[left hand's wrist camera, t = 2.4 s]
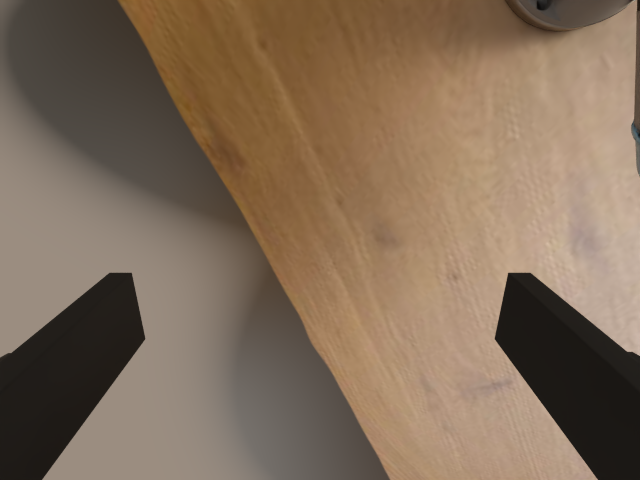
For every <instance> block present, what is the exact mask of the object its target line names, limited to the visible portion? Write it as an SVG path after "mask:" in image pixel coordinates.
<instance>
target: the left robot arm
mask: <svg viewBox="0 0 640 480" xmlns="http://www.w3.org/2000/svg"><path fill="white" fill-rule="evenodd" d="M634 1H635V0H506V2H507V3H508V5H509V6H510V7H511V9H512V10H513V11H514V12H515V13H516V14H517V15H518V16H519V17H520V18H522V19H523V20H525V21H526V22H528V23H529V24H531V25H534V26H536V27H539V28H542V29H546V30H553V31H566V30H573V29H577V28H581V27H585V26H588V25H592V24H595V23H598V22H601V21H603V20H605V19H608V18H610V17H612V16H613V15H615V14H617V13H619V12H620V11H622V10H623V9H624V8H626V7H627V6H629V5H630V4H631V3H632V2H634ZM631 131H632V135H633V138H634V139H635V141H636V162H637V171H638V174H639V176H640V0H637V33H636V76H635V112H634V121H633V123H632V125H631ZM144 340H145V335H144V330H143V326H142V321H141V316H140V311H139V306H138V301H137V296H136V292H135V287H134V282H133V277H132V273H109V274H108V275H106V276H105V277H104V278H103V279H102V280H100V281H99V282H98V283H97V284H95V285H94V286H93V287H92V288H91V289H89V290H88V291H87V292H86V293H84V294H83V295H82V296H81V297H80V298H78V299H77V300H76V301H75V302H73V303H72V304H71V305H70V306H68V307H67V308H66V309H65V310H64V311H62V312H61V313H60V314H59V315H57V316H56V317H55V318H54V319H53V320H51V321H50V322H49V323H48V324H46V325H45V326H44V327H43V328H42V329H40V330H39V331H38V332H37V333H35V334H34V335H33V336H32V337H30V338H29V339H28V340H27V341H26V342H24V343H23V344H22V345H21V346H19V347H18V348H17V349H16V350H15V351H13V352H12V353H8V354H6V355H4V356H2V357H0V480H42V479H43V478H44V476H45V475H46V474H47V472H48V471H49V469H50V468H51V467H52V465H53V464H54V463H55V461H56V460H57V459H58V457H59V456H60V454H61V453H62V452H63V450H64V449H65V448H66V446H67V445H68V444H69V442H70V441H71V439H72V438H73V437H74V435H75V434H76V433H77V431H78V430H79V429H80V427H81V426H82V425H83V423H84V422H85V420H86V419H87V418H88V416H89V415H90V414H91V412H92V411H93V410H94V408H95V407H96V405H97V404H98V403H99V401H100V400H101V399H102V397H103V396H104V395H105V393H106V392H107V390H108V389H109V388H110V386H111V385H112V384H113V382H114V381H115V380H116V378H117V377H118V375H119V374H120V373H121V371H122V370H123V369H124V367H125V366H126V365H127V363H128V362H129V361H130V359H131V358H132V356H133V355H134V354H135V352H136V351H137V350H138V348H139V347H140V346H141V344H142V343H143V341H144ZM495 340H496V341H497V343H498V344H499V346H500V347H501V348H502V350H503V351H504V352H505V354H506V355H507V356H508V358H509V359H510V361H511V362H512V363H513V365H514V366H515V367H516V369H517V370H518V371H519V373H520V374H521V376H522V377H523V378H524V380H525V381H526V382H527V384H528V385H529V386H530V388H531V389H532V390H533V392H534V393H535V395H536V396H537V397H538V399H539V400H540V401H541V403H542V404H543V405H544V407H545V408H546V410H547V411H548V412H549V414H550V415H551V416H552V418H553V419H554V420H555V422H556V423H557V425H558V426H559V427H560V429H561V430H562V431H563V433H564V434H565V435H566V437H567V438H568V439H569V441H570V442H571V444H572V445H573V446H574V448H575V449H576V450H577V452H578V453H579V454H580V456H581V457H582V459H583V460H584V461H585V463H586V464H587V465H588V467H589V468H590V469H591V471H592V472H593V474H594V475H595V476H596V478H597V479H598V480H640V356H639V355H637V354H635V353H633V352H627V351H625V350H624V349H623V348H622V347H621V346H619V345H618V344H617V343H616V342H614V341H613V340H612V339H611V338H610V337H608V336H607V335H606V334H605V333H603V332H602V331H601V330H600V329H598V328H597V327H596V326H595V325H594V324H592V323H591V322H590V321H589V320H587V319H586V318H585V317H584V316H583V315H581V314H580V313H579V312H578V311H576V310H575V309H574V308H573V307H572V306H570V305H569V304H568V303H567V302H565V301H564V300H563V299H562V298H561V297H559V296H558V295H557V294H556V293H554V292H553V291H552V290H551V289H549V288H548V287H547V286H546V285H545V284H543V283H542V282H541V281H540V280H538V279H537V278H536V277H535V276H534V275H532V274H531V273H508V277H507V282H506V287H505V292H504V296H503V301H502V306H501V311H500V316H499V321H498V325H497V330H496V335H495Z"/></svg>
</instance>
